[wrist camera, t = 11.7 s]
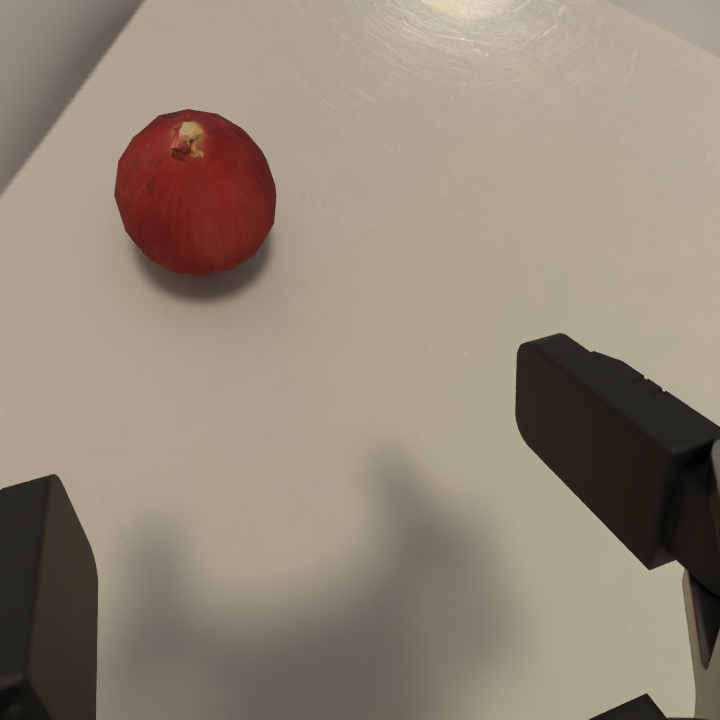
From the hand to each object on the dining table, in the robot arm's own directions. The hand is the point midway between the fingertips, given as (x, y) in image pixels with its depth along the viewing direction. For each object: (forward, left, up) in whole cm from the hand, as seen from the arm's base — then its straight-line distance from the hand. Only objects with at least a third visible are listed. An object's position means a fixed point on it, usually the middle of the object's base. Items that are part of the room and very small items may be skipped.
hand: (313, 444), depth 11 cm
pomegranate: (+5, +10, -15) cm, 19 cm away
